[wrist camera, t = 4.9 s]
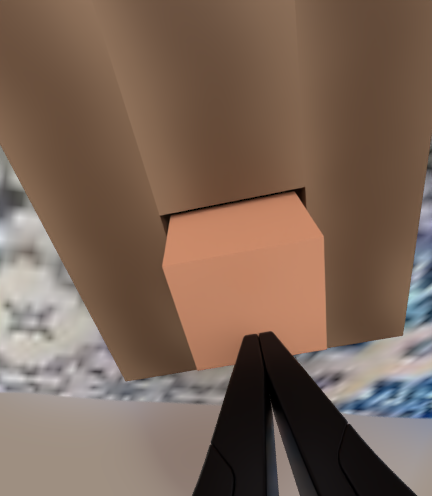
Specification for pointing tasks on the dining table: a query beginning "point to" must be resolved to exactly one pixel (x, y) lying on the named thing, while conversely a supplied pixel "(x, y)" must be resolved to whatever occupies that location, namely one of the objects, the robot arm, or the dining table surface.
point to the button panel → (219, 144)
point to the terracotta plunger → (247, 277)
